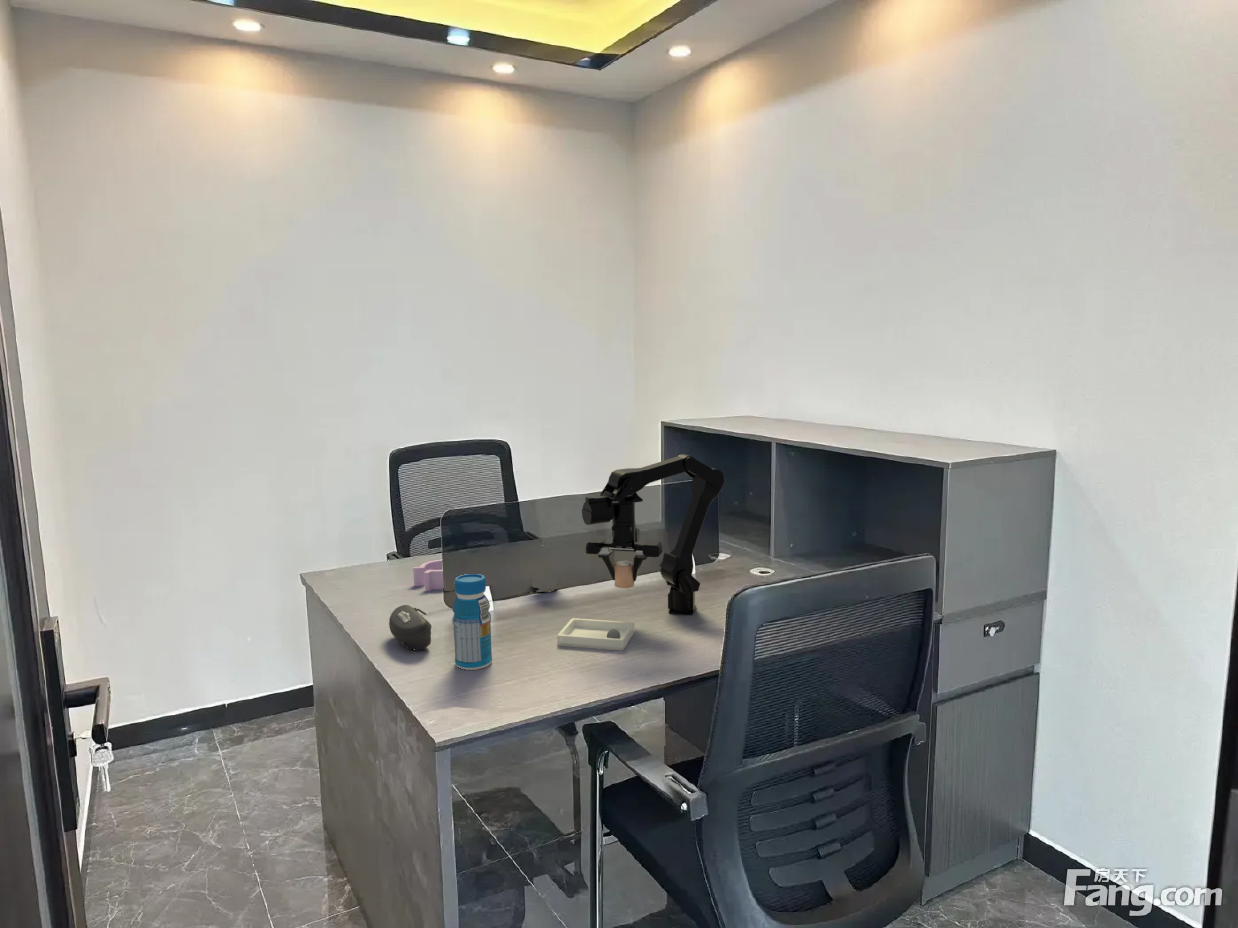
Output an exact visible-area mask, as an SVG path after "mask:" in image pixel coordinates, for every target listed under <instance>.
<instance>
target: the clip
mask: <svg viewBox="0 0 1238 928" xmlns="http://www.w3.org/2000/svg"><path fill="white" fill-rule="evenodd" d="M442 560H443V559H435V560H429V561H426V562H424V563H422V564H420V566H413V567H412V568H413V569H412V571H413V587H424V590H425V592H430V591H431V590H444V589H443V570H442Z"/></svg>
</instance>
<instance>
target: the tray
mask: <svg viewBox="0 0 1238 928" xmlns="http://www.w3.org/2000/svg"><path fill="white" fill-rule="evenodd" d="M611 629H616V630H618V631H619V633H620V639H615V638H607V633H608V631H609V630H611ZM634 634H635V622H632V621H619V620H618V621H617V620H605V619H604V620H603V619H589V618H577V617H571V618H570V620H569V621H568V622H567V623H566V625H564V627H563V628H562V629H561V630H560V631H559V632H558V634H557V635H556V641H557V642H556V644H557V646H558V647H559V646H560V647H571V648H583V649H584V648H586V649H595V650H596V649H598V650H607V651H608V650H609V651H624V650H625V648H627V647H626V646H627V645H628V644H629V642H630V640H631V639H632V636H633V635H634Z"/></svg>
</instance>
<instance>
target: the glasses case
mask: <svg viewBox="0 0 1238 928" xmlns="http://www.w3.org/2000/svg"><path fill="white" fill-rule="evenodd" d="M419 612H420V613H419ZM422 614H423V615H425V616H427V613H426V612H424V611H423V610H422V609H421V608H420V609H419V608H417V607H413V606H411V605H408V604H403V605H399V606H398V607H396V608H395V609H394V610H393V611H392V612H391V614H390V616H389V622H388V627H389V630H390V633H391V634H392V636H393V637H394V638H395V639H396V640H398V642H400V643H401V645H402V646H404V647H406V646H407V647H408V648H407V647H406V648H407V649H409V648H411V649H415V650H414V651H416V650H418V651H422V650H424V649H427V647H429V646H430V645H431V642H432V637H431V635H432V624H431V622H429V621H428V620H427V619H426V618H425V617H424V616H423V615H422ZM411 649H410V650H411Z"/></svg>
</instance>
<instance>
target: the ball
mask: <svg viewBox="0 0 1238 928" xmlns="http://www.w3.org/2000/svg"><path fill="white" fill-rule="evenodd" d="M607 638H615V639H620V633H619V631H618V630H616V629H611V630H609V631H608V633H607Z"/></svg>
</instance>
